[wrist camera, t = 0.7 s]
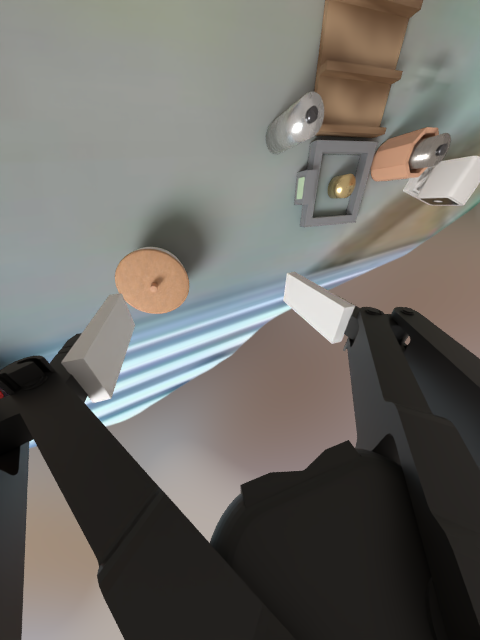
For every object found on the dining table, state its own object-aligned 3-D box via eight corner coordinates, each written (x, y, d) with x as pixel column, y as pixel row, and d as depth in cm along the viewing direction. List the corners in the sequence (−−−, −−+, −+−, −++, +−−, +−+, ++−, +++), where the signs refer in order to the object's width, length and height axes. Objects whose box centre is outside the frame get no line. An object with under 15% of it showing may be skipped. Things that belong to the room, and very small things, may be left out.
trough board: (326, -7, 23) (339, -25, 21) (406, 13, 26) (423, -2, 24) (308, 135, 31) (317, 131, 29) (373, 137, 34) (384, 134, 32)
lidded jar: (195, 257, 35) (200, 271, 28) (175, 302, 39) (176, 326, 32) (135, 229, 30) (122, 237, 23) (119, 284, 34) (103, 306, 26)
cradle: (299, 142, 31) (310, 137, 28) (369, 144, 34) (384, 139, 32) (290, 227, 38) (298, 228, 35) (349, 221, 41) (359, 222, 39)
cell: (266, 119, 28) (301, 87, 20) (289, 120, 29) (330, 90, 21) (265, 154, 30) (296, 136, 22) (286, 154, 31) (323, 137, 23)
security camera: (397, 198, 42) (450, 196, 34) (418, 160, 39) (482, 148, 31) (412, 205, 44) (465, 205, 36) (433, 170, 41) (496, 162, 33)
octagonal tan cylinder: (377, 139, 34) (418, 126, 28) (403, 140, 35) (445, 128, 30) (366, 181, 38) (399, 177, 32) (389, 181, 39) (425, 177, 33)
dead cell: (382, 147, 35) (442, 131, 27) (398, 148, 35) (460, 132, 28) (375, 174, 37) (428, 165, 29) (389, 173, 38) (445, 165, 30)
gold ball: (330, 176, 34) (341, 173, 32) (345, 175, 35) (358, 173, 32) (325, 198, 36) (336, 198, 34) (340, 197, 37) (352, 197, 34)
